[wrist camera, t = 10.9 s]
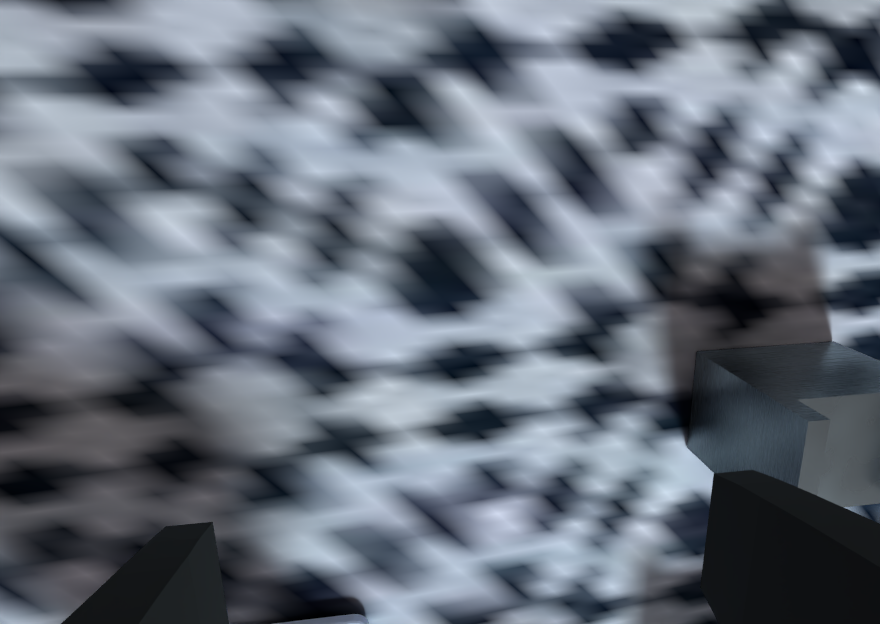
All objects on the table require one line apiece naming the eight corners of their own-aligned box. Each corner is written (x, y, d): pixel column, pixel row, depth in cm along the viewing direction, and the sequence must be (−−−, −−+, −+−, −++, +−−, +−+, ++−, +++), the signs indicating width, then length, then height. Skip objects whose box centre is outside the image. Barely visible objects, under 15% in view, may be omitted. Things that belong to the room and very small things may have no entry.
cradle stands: (773, 693, 25) (877, 831, 20) (660, 709, 24) (737, 856, 19) (833, 341, 20) (985, 405, 15) (696, 351, 20) (808, 421, 15)
